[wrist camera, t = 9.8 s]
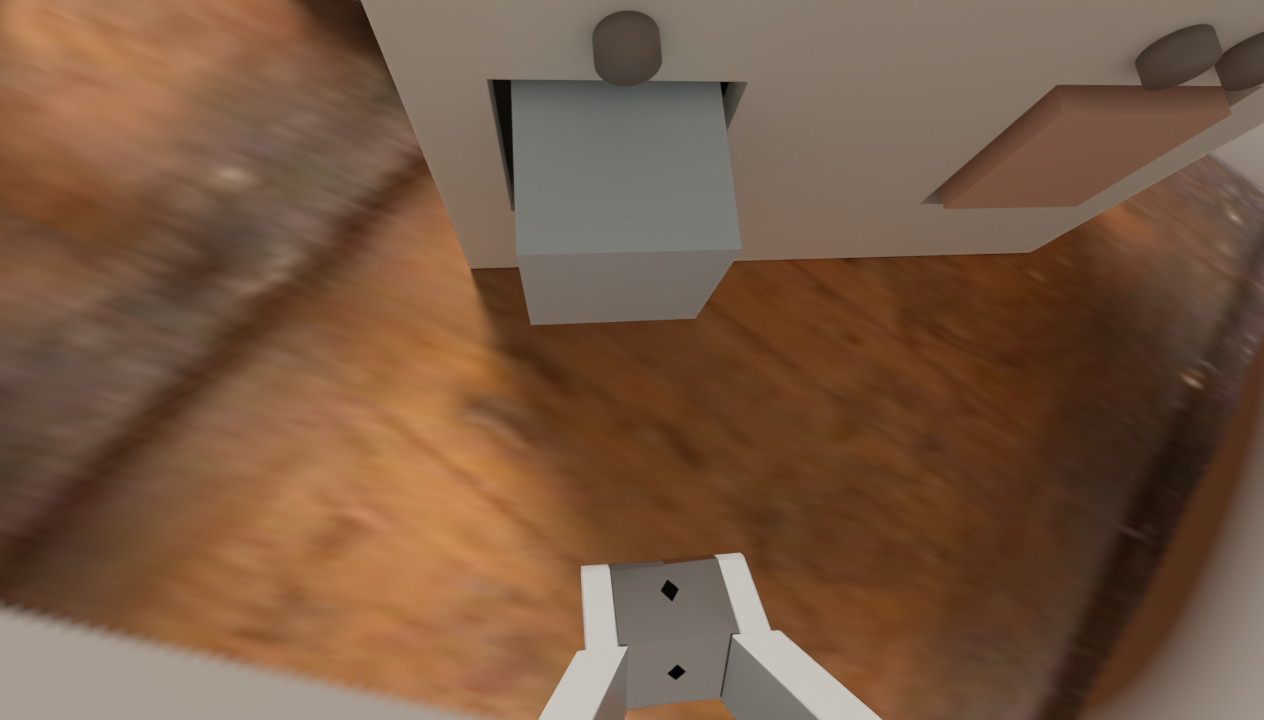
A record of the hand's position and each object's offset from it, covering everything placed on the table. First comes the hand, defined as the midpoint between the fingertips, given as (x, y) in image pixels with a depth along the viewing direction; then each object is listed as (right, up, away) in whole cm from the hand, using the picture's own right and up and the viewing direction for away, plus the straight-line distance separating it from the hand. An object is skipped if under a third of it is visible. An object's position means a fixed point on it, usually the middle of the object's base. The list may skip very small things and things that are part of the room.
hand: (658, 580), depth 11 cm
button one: (-1, +9, +8) cm, 12 cm away
